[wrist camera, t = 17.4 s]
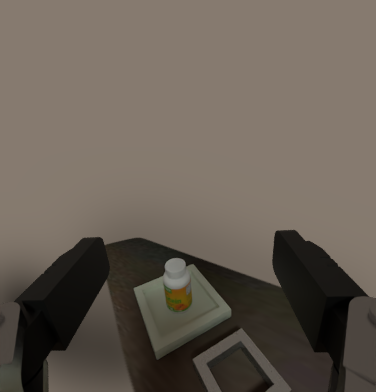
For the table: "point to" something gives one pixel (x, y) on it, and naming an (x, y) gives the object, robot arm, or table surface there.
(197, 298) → the sage tray
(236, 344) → the gray square frame
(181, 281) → the supplement bottle
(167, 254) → the table surface
